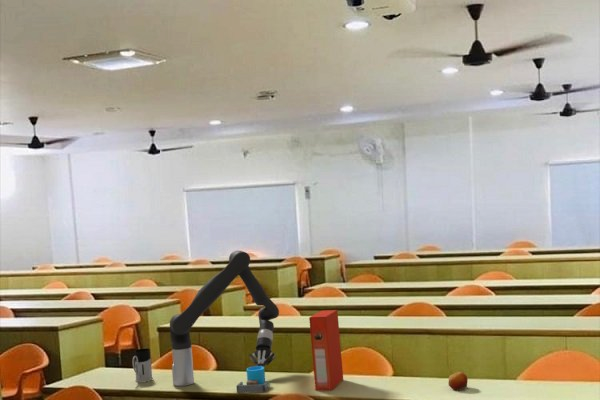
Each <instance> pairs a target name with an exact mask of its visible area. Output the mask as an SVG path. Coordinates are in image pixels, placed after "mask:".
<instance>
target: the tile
mask: <svg viewBox="0 0 600 400" xmlns="http://www.w3.org/2000/svg"><path fill="white" fill-rule="evenodd" d="M246 385H258V380H249V381H248V382H246Z"/></svg>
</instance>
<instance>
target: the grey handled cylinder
mask: <svg viewBox="0 0 600 400" xmlns="http://www.w3.org/2000/svg"><path fill="white" fill-rule="evenodd" d="M131 363H132V369H133V371H134V373H135V381H136V382H135V383H146V381H148V382H151V381H153V380H154V377H153V368H152V358H151V349H150V348H140V349H139V348H138V349H136V350H134V356H133V357H132V362H131ZM152 379H153V380H152ZM150 380H151V381H150Z"/></svg>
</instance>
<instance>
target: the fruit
mask: <svg viewBox="0 0 600 400" xmlns="http://www.w3.org/2000/svg"><path fill="white" fill-rule="evenodd" d="M448 387H449V388H451V389H452V390H454V391H460V390H461V391H462V390H463V391H464V390H465V388H467V389H469V387H468V376H467V375H466V373H464V372H462V371H457V372H455V373H452V374H450V375H449V377H448Z"/></svg>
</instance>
